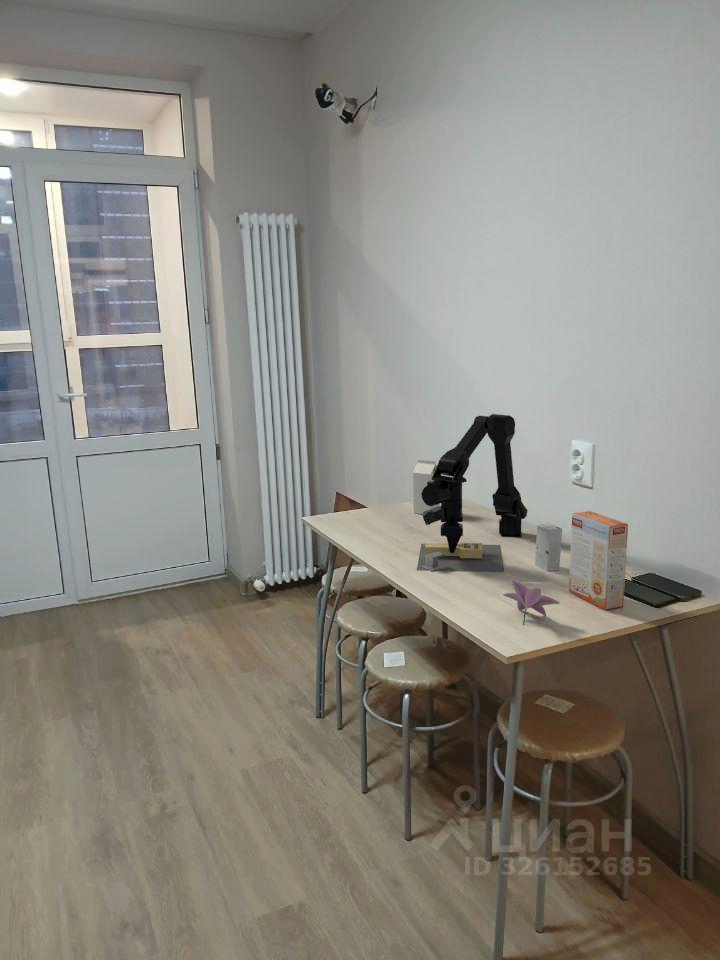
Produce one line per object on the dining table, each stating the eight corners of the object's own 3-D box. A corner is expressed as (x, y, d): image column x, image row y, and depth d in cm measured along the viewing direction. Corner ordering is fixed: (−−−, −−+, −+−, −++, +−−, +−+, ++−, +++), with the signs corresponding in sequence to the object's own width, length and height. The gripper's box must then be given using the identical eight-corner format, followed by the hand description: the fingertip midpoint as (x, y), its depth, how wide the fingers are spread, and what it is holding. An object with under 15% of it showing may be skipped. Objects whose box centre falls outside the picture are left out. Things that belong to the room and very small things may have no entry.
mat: (500, 545, 229) (500, 544, 229) (504, 573, 205) (504, 572, 205) (421, 544, 232) (421, 543, 232) (416, 571, 208) (416, 570, 208)
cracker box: (625, 607, 180) (629, 523, 175) (604, 611, 177) (608, 526, 173) (587, 588, 192) (591, 509, 188) (567, 592, 190) (571, 512, 186)
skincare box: (534, 566, 210) (535, 524, 208) (547, 563, 212) (548, 522, 209) (547, 572, 205) (549, 529, 202) (561, 570, 206) (562, 527, 204)
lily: (564, 630, 170) (567, 588, 173) (527, 621, 164) (531, 578, 167) (525, 629, 180) (528, 589, 182) (489, 621, 174) (493, 580, 176)
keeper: (431, 571, 207) (431, 558, 206) (421, 567, 210) (421, 555, 209) (446, 567, 210) (446, 554, 209) (435, 563, 213) (435, 550, 213)
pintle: (474, 555, 220) (474, 544, 219) (474, 557, 218) (474, 546, 217) (467, 555, 220) (467, 544, 219) (467, 557, 218) (467, 546, 217)
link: (481, 551, 221) (481, 543, 221) (482, 558, 215) (482, 549, 215) (425, 550, 224) (425, 542, 223) (424, 557, 217) (424, 548, 217)
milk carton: (430, 515, 265) (430, 463, 261) (413, 513, 269) (412, 461, 265) (440, 511, 271) (440, 459, 267) (422, 508, 275) (422, 457, 271)
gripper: (425, 491, 226) (425, 541, 229) (422, 507, 208) (422, 560, 211) (462, 491, 224) (462, 541, 228) (463, 507, 206) (462, 561, 210)
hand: (451, 551), depth 219 cm, fingers closed on link, 3 cm apart
